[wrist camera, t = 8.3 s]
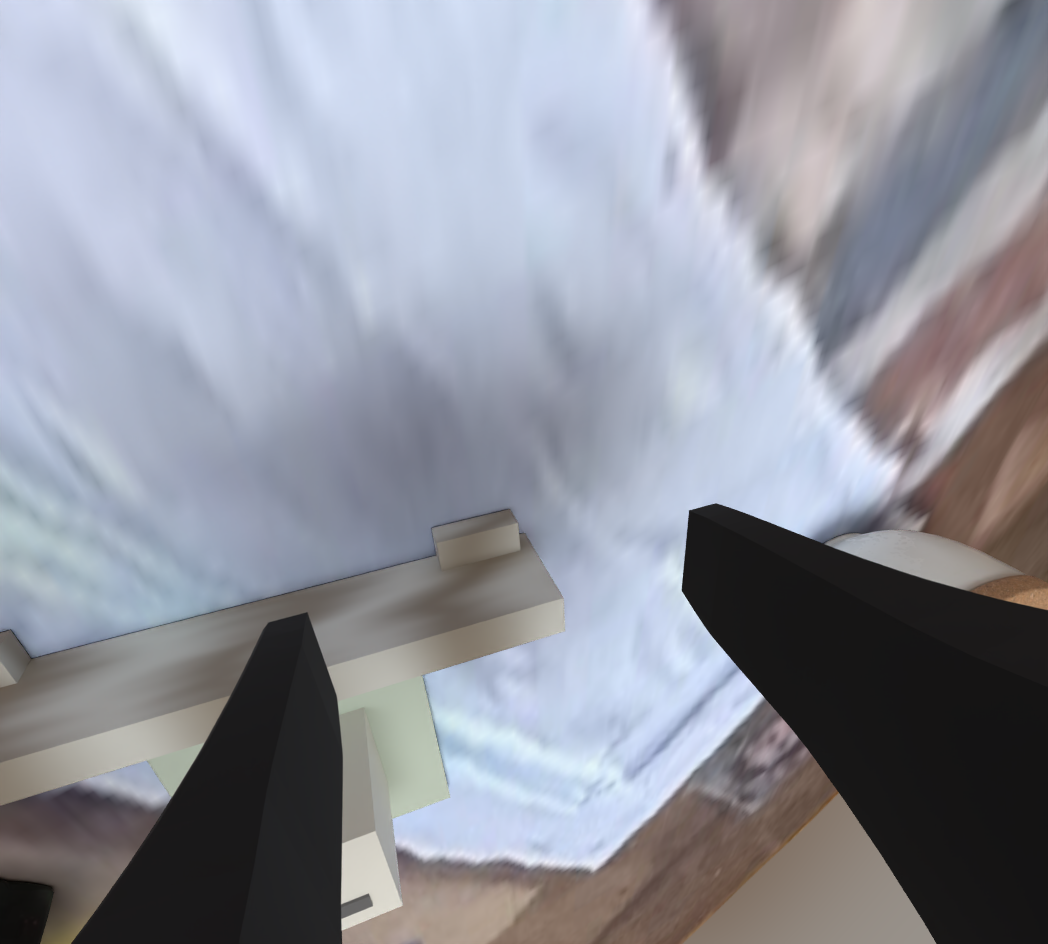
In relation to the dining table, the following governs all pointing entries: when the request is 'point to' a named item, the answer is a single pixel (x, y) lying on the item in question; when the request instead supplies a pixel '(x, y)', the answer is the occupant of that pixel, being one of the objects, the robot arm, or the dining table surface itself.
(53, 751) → the beige wooden bar
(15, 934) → the ceramic cat
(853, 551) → the lidded jar
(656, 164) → the dining table surface
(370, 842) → the marked cube
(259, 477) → the dining table surface
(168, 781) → the pad
